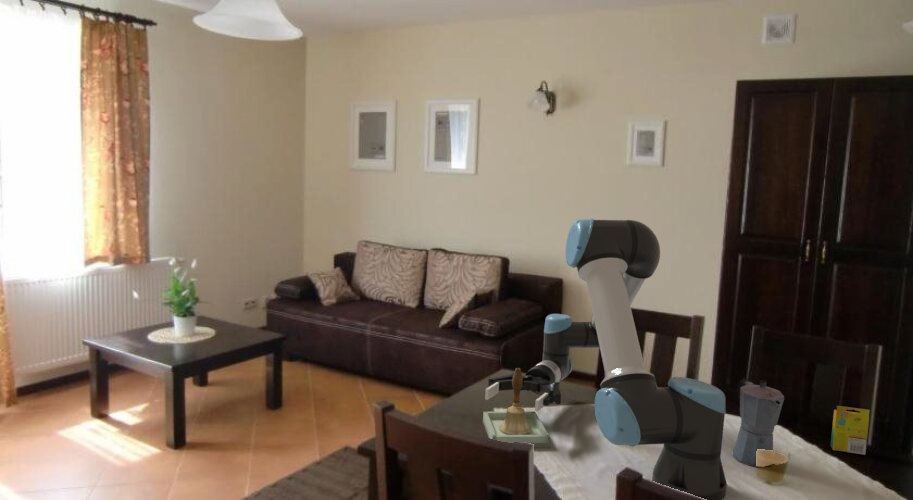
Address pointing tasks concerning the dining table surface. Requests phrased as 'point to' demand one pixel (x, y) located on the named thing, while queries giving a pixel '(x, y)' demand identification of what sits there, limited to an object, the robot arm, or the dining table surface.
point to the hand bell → (515, 411)
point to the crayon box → (850, 430)
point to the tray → (535, 437)
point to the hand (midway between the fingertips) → (511, 400)
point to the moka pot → (756, 419)
